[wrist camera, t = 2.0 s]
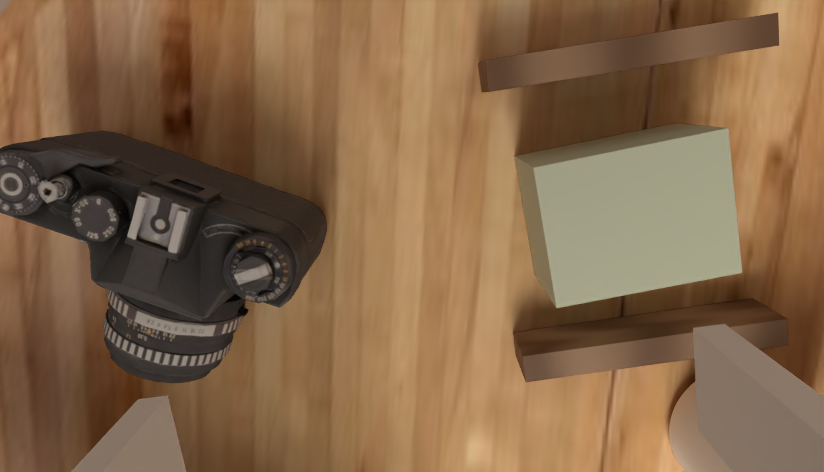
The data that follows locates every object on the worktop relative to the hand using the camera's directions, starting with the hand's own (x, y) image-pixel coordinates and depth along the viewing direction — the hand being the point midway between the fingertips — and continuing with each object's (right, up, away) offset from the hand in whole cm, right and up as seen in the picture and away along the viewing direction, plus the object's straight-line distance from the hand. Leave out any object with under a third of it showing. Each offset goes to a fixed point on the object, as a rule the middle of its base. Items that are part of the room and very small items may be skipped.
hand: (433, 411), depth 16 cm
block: (+10, +6, +20) cm, 23 cm away
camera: (-13, +4, +21) cm, 25 cm away
